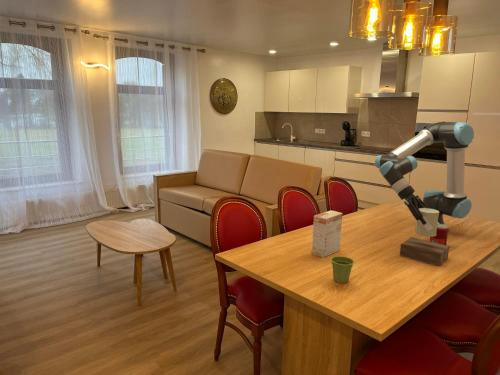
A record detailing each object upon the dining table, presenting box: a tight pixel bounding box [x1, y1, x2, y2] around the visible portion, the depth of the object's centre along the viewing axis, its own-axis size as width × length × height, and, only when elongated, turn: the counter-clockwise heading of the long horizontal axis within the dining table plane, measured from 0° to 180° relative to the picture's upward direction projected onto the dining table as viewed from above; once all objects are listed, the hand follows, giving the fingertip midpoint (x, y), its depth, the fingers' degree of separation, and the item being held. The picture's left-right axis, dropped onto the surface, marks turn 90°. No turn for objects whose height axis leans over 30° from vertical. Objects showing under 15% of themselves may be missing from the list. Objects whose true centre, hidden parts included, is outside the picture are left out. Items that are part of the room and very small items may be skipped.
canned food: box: [429, 223, 449, 245], centre depth 195 cm, size 8×8×11 cm
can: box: [415, 208, 439, 238], centre depth 177 cm, size 9×9×12 cm
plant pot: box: [330, 255, 355, 284], centre depth 152 cm, size 9×9×9 cm
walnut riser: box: [399, 236, 450, 267], centre depth 180 cm, size 14×18×6 cm
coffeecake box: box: [311, 210, 343, 258], centre depth 182 cm, size 15×7×20 cm, turn 134°
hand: (433, 227), depth 175 cm, fingers closed on can, 9 cm apart
